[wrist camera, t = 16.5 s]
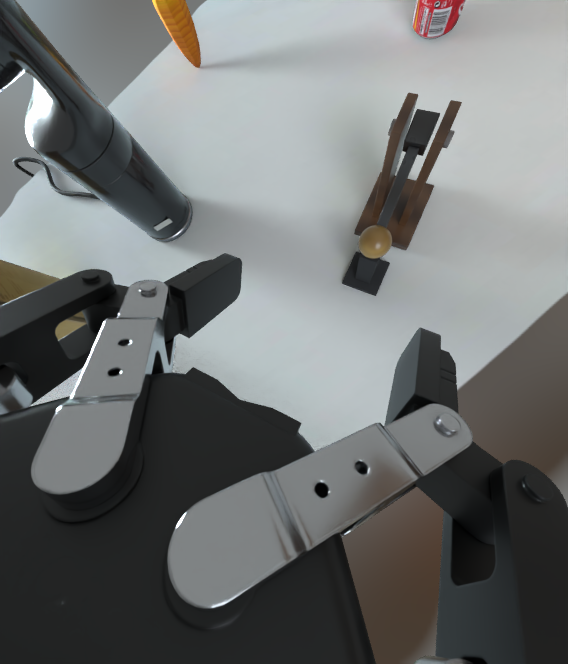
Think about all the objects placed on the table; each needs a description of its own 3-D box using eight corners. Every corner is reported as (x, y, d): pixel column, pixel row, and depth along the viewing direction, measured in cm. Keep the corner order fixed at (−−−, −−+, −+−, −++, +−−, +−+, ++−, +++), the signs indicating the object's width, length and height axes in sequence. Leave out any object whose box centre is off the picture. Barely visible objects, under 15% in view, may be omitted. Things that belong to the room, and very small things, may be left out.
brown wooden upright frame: (405, 250, 39) (449, 174, 24) (354, 234, 41) (364, 153, 26) (431, 190, 40) (490, 78, 25) (379, 177, 42) (404, 65, 27)
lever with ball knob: (383, 263, 32) (384, 262, 29) (354, 254, 33) (352, 251, 29) (441, 131, 28) (449, 110, 25) (406, 123, 29) (410, 103, 25)
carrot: (185, 62, 53) (128, -56, 38) (208, 52, 52) (159, -72, 38) (189, 82, 52) (131, -30, 37) (212, 72, 51) (163, -46, 37)
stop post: (342, 283, 41) (343, 261, 32) (355, 253, 41) (360, 223, 33) (375, 296, 39) (385, 276, 31) (389, 264, 40) (402, 236, 32)
